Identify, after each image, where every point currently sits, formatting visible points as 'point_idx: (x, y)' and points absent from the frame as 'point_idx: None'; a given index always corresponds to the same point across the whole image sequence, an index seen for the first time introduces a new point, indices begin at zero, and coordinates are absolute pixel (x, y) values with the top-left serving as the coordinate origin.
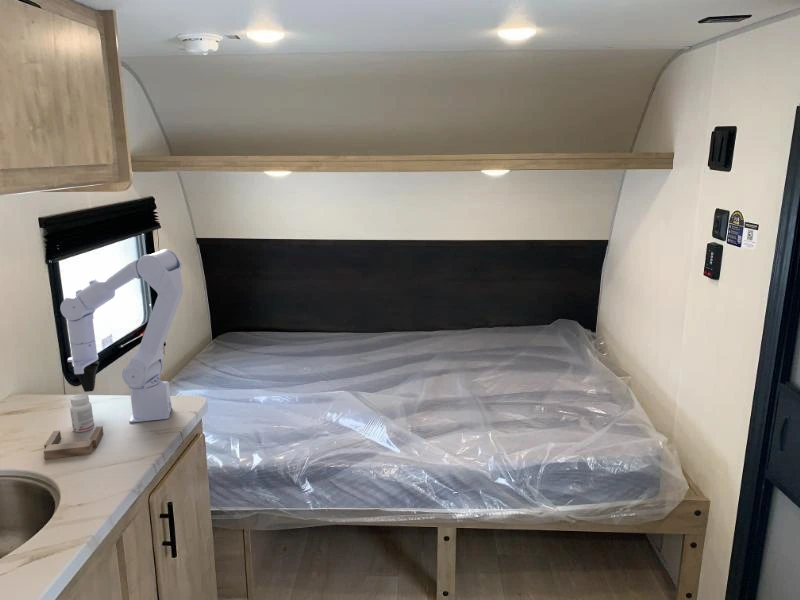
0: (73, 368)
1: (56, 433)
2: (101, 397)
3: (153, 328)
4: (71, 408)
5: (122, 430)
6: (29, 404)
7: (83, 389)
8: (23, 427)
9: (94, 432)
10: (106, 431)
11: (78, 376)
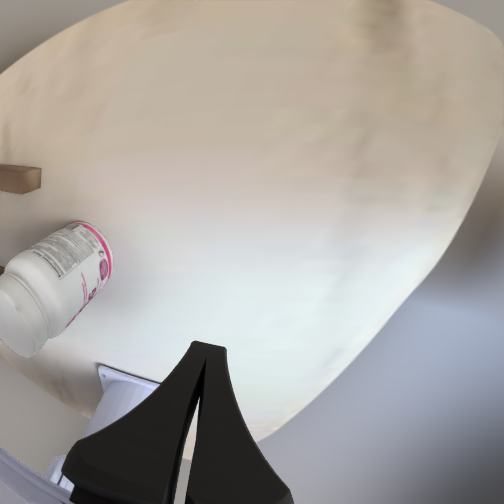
0: (74, 477)
1: (9, 186)
2: (375, 317)
3: None
4: (7, 264)
5: (65, 341)
6: (445, 63)
7: (190, 348)
8: (187, 26)
9: None
10: None
11: (120, 421)
